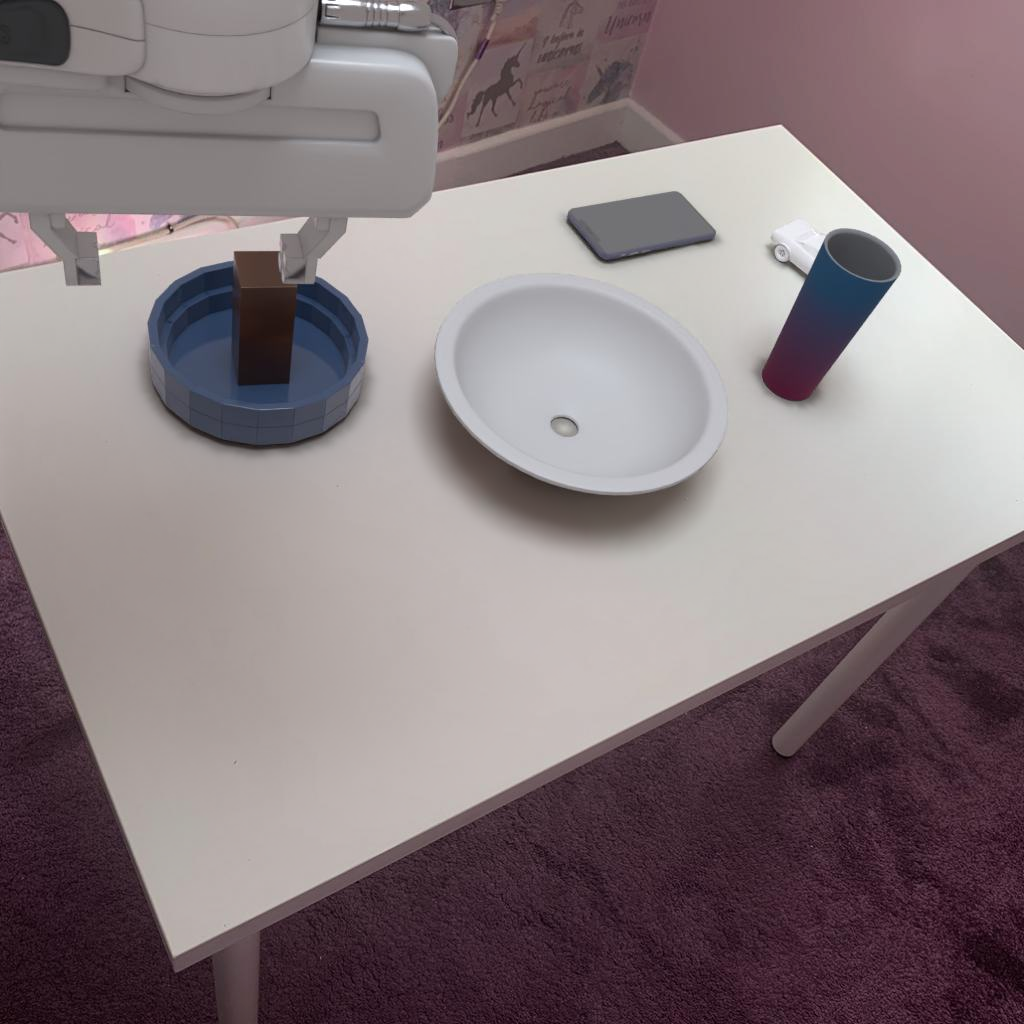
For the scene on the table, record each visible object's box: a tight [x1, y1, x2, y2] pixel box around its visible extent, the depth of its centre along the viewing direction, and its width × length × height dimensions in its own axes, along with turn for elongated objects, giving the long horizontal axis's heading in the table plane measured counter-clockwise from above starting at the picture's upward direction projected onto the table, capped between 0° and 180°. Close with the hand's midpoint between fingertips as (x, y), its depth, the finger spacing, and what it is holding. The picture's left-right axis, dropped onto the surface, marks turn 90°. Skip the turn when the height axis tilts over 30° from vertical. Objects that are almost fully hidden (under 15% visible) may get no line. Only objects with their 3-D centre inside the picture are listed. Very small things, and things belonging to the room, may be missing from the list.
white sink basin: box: [433, 272, 729, 496], centre depth 86 cm, size 24×24×7 cm
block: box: [231, 250, 297, 386], centre depth 81 cm, size 4×4×10 cm
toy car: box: [770, 218, 827, 276], centre depth 110 cm, size 6×12×3 cm, turn 41°
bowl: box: [146, 260, 369, 446], centre depth 83 cm, size 16×16×4 cm
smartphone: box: [566, 190, 717, 261], centre depth 108 cm, size 8×1×15 cm
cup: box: [761, 227, 902, 401], centre depth 93 cm, size 7×7×15 cm
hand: (193, 276), depth 49 cm, fingers open, 8 cm apart
